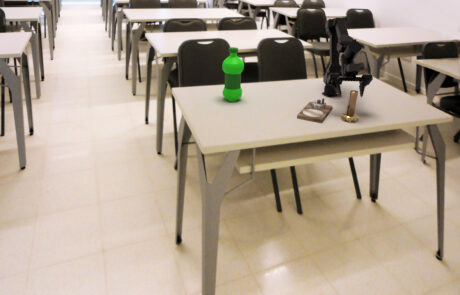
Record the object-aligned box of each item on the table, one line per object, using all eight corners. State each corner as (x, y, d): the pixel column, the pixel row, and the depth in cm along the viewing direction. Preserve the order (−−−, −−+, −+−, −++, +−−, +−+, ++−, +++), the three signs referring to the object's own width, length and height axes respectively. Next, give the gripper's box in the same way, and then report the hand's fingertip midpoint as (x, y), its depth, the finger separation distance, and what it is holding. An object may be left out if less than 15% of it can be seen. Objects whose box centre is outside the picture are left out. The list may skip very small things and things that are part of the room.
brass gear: (349, 115, 168) (354, 87, 162) (360, 121, 162) (366, 92, 156) (337, 118, 165) (342, 90, 159) (349, 123, 159) (354, 94, 153)
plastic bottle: (245, 102, 180) (247, 50, 169) (223, 103, 178) (224, 51, 167) (240, 95, 189) (242, 45, 178) (219, 96, 187) (220, 46, 176)
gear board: (309, 104, 179) (310, 92, 177) (332, 108, 175) (334, 96, 172) (297, 118, 164) (298, 105, 161) (321, 123, 160) (323, 109, 157)
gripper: (332, 54, 158) (335, 87, 154) (375, 55, 159) (380, 88, 154) (325, 68, 169) (327, 99, 164) (366, 69, 169) (369, 100, 164)
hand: (351, 96), depth 161 cm, fingers open, 9 cm apart
